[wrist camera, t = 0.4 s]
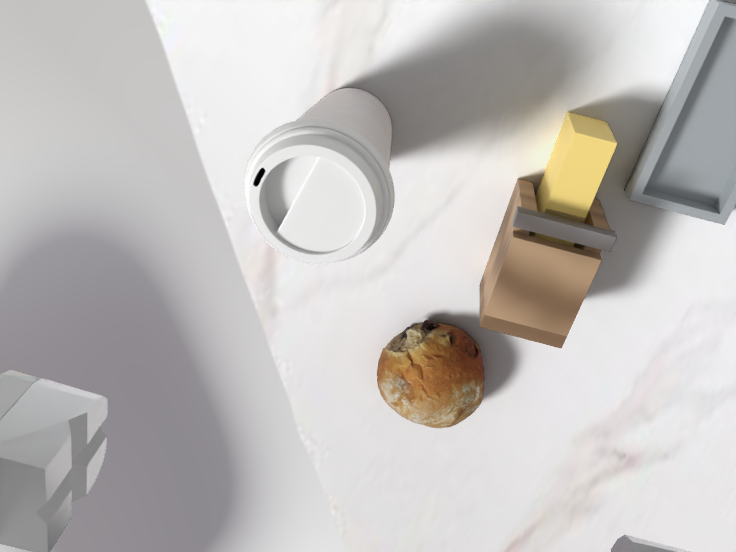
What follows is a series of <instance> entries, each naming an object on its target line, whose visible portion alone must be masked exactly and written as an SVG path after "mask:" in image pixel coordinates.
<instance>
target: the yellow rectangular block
mask: <svg viewBox="0 0 736 552" xmlns="http://www.w3.org/2000/svg"><path fill="white" fill-rule="evenodd" d="M616 146H617V141H616V140H615V138H614V136H613V134H612V132H611V130H610V128H609V126H608V124H607V122H606V121H602V120H598V119H594V118H590V117H586V116H582V115H579V114H575V113H571V112H567V114H566V117H565V119H564V122H563V125H562V127H561V130H560V133H559V135H558V138H557V141H556V143H555V146H554V149H553V151H552V154H551V156H550V159H549V162H548V164H547V167H546V170H545V172H544V175H543V178H542V180H541V183H540V186H539V188H538V191H537V193H536V196H535V199H536V204H537V210H538V212H542V213H546V214H550V215H553V216H557V217H561V218H565V219H569V220H573V221H576V222H580V223H584V221H585V218H586V216H587V214H588V211H589V209H590V207H591V204H592V202H593V200H594V197H595V195H596V193H597V190H598V188H599V186H600V183H601V181H602V178H603V176H604V174H605V171H606V169H607V167H608V164H609V162H610V160H611V157H612V155H613V153H614V150H615V148H616ZM529 236H533V237H537V238H541V239H545V240H549V241H552V242H556V243H560V244H564V245H568V246H572V247H573V246H574V244H575V243H574V242H570V241H566V240H562V239H558V238H554V237H551V236H547V235H543V234H539V233H535V232H531V231H530V233H529Z"/></svg>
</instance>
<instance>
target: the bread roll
mask: <svg viewBox="0 0 736 552" xmlns="http://www.w3.org/2000/svg"><path fill="white" fill-rule="evenodd" d="M377 376H378V378H377V382H378V387H379V390H380V393H381V396H382V397H383V399H384V400H385V401H386V403H387V404H388V405H389V406H390V407H391V408H392V409H393V410H395V411H396V412H397V413H398V414H399V415H401V416H402V417H404V418H405V419H407V420H410V421H412V422H414V423H418V424H421V425H425V426H428V427H433V428H445V427H451V426H453V425H456V424H458V423H459V422H461V421H462V420H464V419H465V418H467V417H468V416H470V415H471V414H472V413H473V412H474V411H475V410H476V409H477V408H478V407H479V405H480V404H481V402H482V399H483V393H484V368H483V361H482V355H481V351H480V349H479V346H478V344H477V343H476V342H475V341H474V340H473V339H472V338H471V337H470V336H469V335H468V334H467V333H466V332H465V331H463V330H461V329H459V328H457V327H454V326H453V325H446V324H440V323H435V322H433V321H431V320H425V321H424V322H423V323H419V324H417V325H415V326H413V327H407V328H406V329H405V330H404V331H403V333H401V334H399V335H398V336H396V337H394V338H393V339H392V340H391V341H390V342H389V344H388V345H387V346H386V347H385V348H383V351H382V353H381V356H380V359H379V362H378V370H377Z"/></svg>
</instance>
